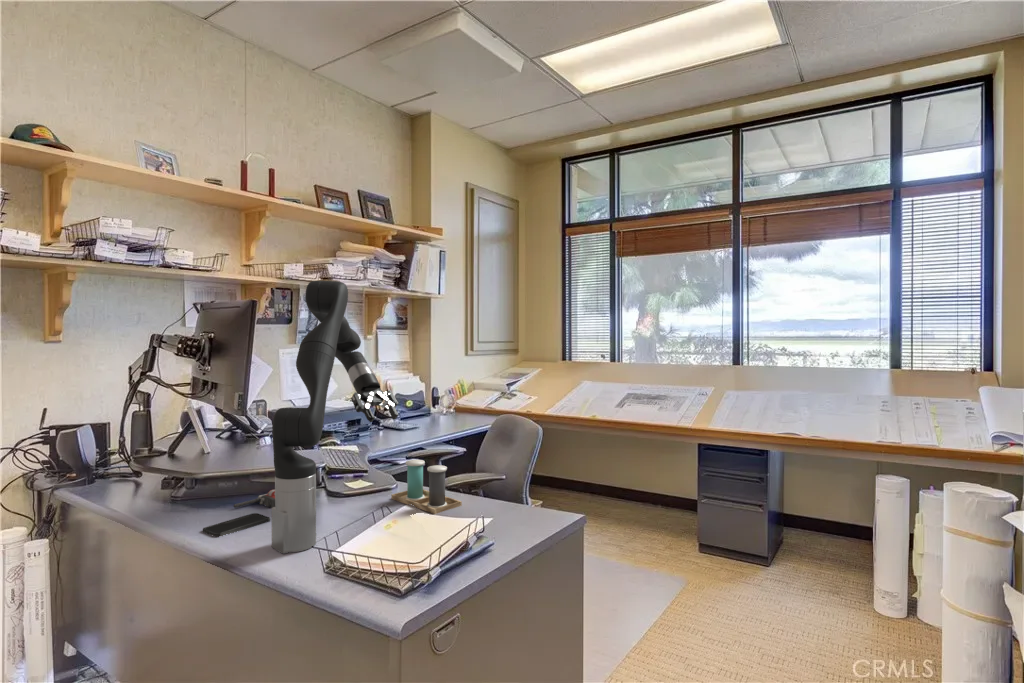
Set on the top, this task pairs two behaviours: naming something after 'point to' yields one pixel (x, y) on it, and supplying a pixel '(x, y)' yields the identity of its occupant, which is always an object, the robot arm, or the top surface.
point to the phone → (236, 524)
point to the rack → (423, 502)
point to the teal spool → (415, 479)
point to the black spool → (436, 486)
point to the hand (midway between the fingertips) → (384, 419)
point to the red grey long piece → (261, 500)
